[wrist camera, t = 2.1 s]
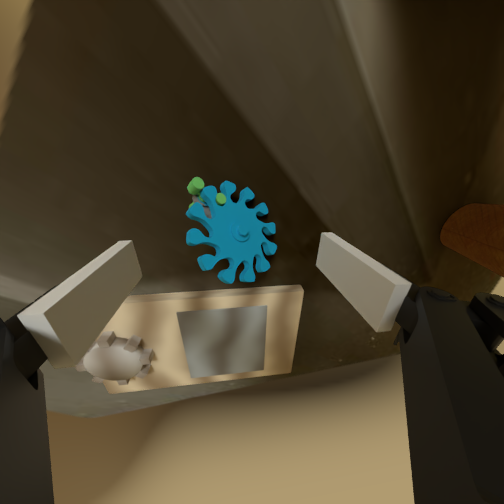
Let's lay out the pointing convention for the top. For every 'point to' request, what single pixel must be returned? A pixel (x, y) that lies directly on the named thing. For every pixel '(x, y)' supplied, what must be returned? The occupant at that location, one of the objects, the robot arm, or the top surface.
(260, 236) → the gear
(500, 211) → the disposable coffee cup
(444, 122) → the top surface
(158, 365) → the carrier board
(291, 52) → the top surface
